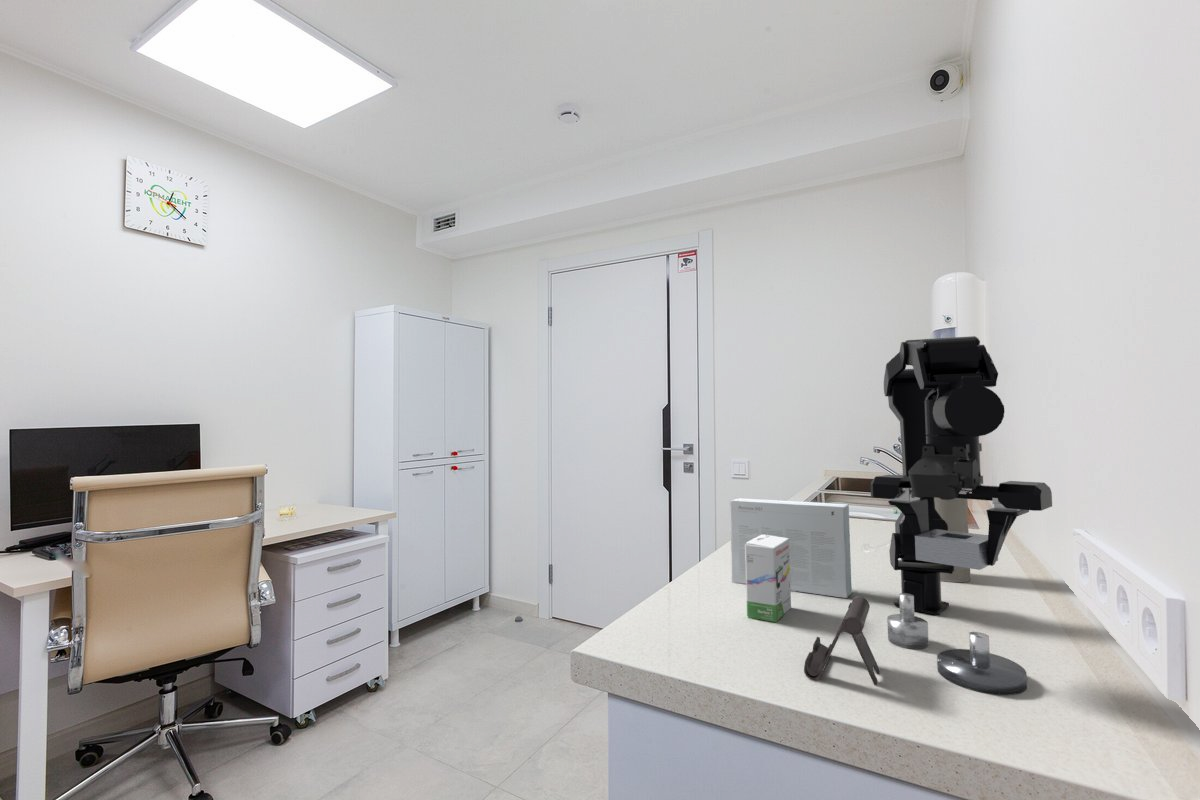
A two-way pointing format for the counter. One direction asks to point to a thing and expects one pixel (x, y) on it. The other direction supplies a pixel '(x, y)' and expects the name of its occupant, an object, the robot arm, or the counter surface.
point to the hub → (981, 668)
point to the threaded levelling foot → (907, 626)
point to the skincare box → (797, 541)
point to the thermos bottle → (956, 521)
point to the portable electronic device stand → (850, 625)
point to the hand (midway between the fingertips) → (957, 560)
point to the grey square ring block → (953, 548)
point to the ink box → (768, 577)
